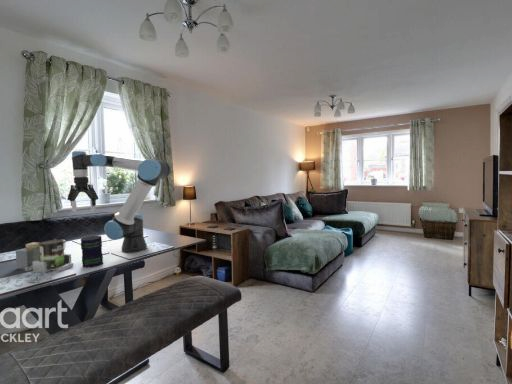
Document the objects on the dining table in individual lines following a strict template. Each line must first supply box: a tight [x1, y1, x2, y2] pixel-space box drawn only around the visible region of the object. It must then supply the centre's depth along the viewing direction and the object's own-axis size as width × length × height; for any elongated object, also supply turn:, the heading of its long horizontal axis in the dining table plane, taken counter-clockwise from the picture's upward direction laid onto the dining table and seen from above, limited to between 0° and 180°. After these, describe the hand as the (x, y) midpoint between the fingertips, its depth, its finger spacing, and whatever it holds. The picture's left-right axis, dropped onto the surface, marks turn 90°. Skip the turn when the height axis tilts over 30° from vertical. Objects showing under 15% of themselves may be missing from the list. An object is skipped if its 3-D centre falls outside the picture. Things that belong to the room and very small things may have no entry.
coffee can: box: [38, 239, 66, 272], centre depth 144 cm, size 10×10×14 cm
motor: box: [15, 241, 74, 274], centre depth 146 cm, size 14×29×12 cm, turn 74°
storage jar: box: [80, 235, 104, 269], centre depth 148 cm, size 10×10×15 cm
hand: (83, 211), depth 167 cm, fingers open, 13 cm apart
